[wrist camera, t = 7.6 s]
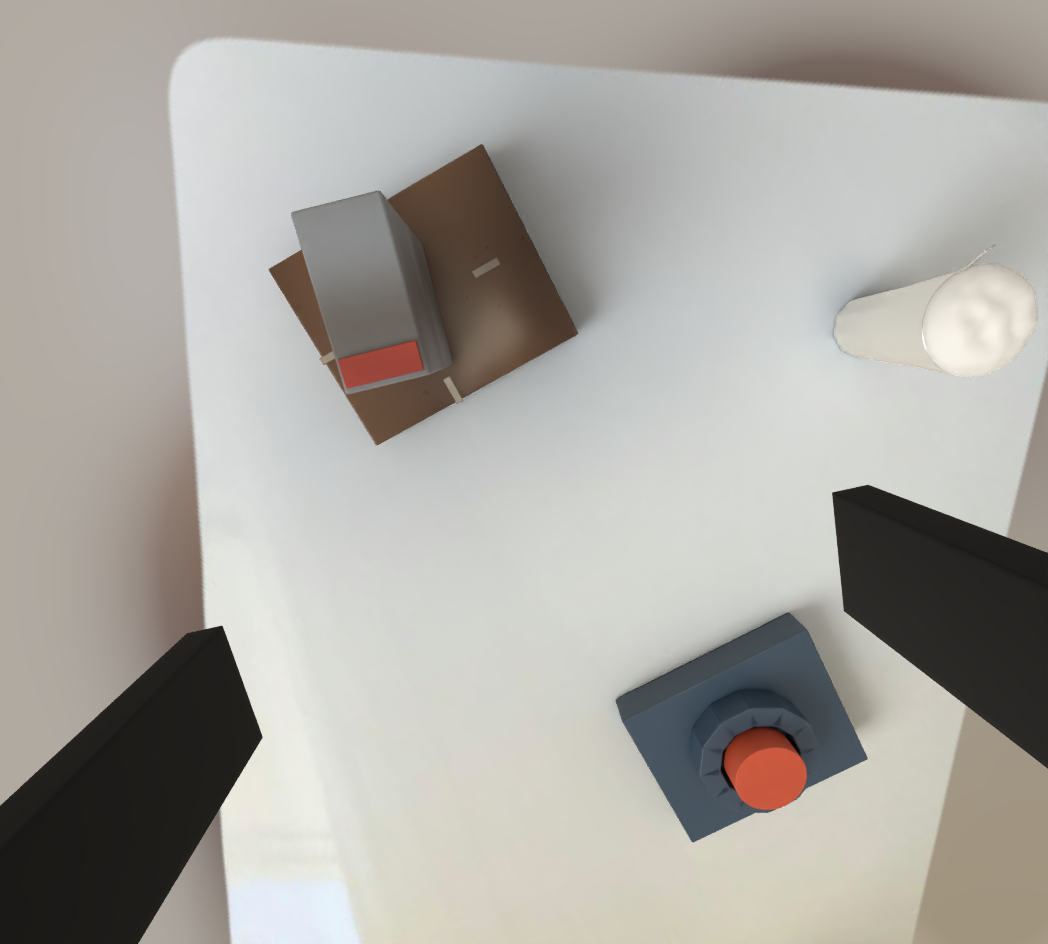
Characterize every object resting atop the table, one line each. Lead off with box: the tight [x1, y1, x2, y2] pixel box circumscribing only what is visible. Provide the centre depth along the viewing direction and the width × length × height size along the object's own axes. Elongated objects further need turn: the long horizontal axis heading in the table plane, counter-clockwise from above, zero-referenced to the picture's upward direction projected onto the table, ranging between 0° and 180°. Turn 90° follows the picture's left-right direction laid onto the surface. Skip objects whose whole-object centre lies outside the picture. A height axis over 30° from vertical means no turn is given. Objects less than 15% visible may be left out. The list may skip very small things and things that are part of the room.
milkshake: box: [833, 245, 1038, 377], centre depth 27 cm, size 4×5×10 cm
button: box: [724, 727, 807, 810], centre depth 33 cm, size 4×4×2 cm
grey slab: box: [291, 191, 453, 394], centre depth 24 cm, size 6×3×10 cm, turn 13°
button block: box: [616, 613, 867, 842], centre depth 35 cm, size 12×10×4 cm
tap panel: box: [269, 145, 578, 445], centre depth 30 cm, size 12×10×2 cm
